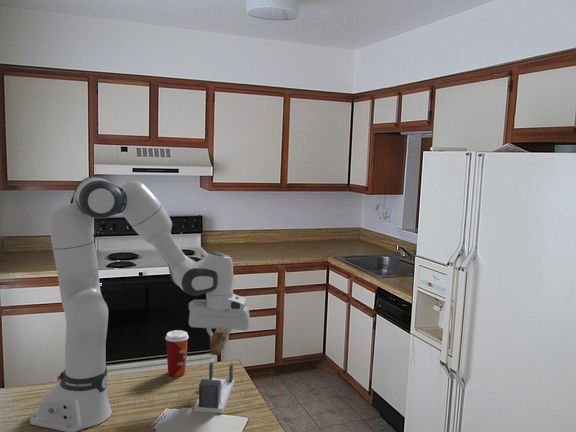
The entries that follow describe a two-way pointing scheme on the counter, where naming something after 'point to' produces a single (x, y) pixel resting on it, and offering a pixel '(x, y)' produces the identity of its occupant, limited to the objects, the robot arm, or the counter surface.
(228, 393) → the endcap frame
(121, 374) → the counter surface
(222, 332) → the slat
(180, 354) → the coffee cup
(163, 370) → the counter surface
